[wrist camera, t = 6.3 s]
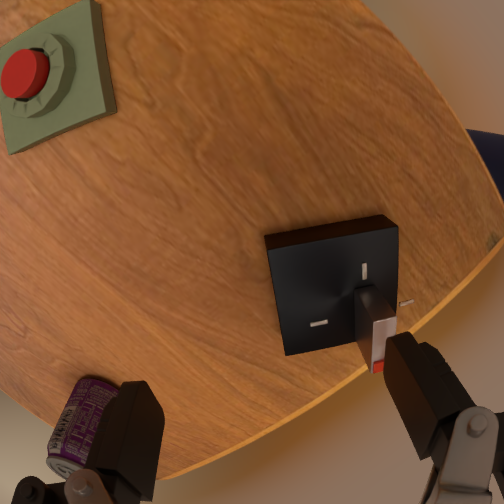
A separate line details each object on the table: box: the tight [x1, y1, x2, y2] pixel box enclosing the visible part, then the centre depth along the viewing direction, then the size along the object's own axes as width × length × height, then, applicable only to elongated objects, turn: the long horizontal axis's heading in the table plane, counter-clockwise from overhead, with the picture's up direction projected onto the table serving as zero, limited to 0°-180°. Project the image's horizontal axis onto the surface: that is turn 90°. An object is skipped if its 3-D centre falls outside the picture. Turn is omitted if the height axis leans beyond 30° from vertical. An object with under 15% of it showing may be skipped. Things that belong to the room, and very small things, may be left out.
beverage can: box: [46, 379, 119, 480], centre depth 27 cm, size 7×7×12 cm
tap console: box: [264, 215, 414, 356], centre depth 26 cm, size 12×12×3 cm
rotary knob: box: [354, 285, 397, 373], centre depth 23 cm, size 5×2×5 cm, turn 10°
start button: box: [1, 49, 49, 98], centre depth 15 cm, size 4×4×2 cm
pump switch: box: [0, 0, 117, 155], centre depth 17 cm, size 10×10×4 cm
